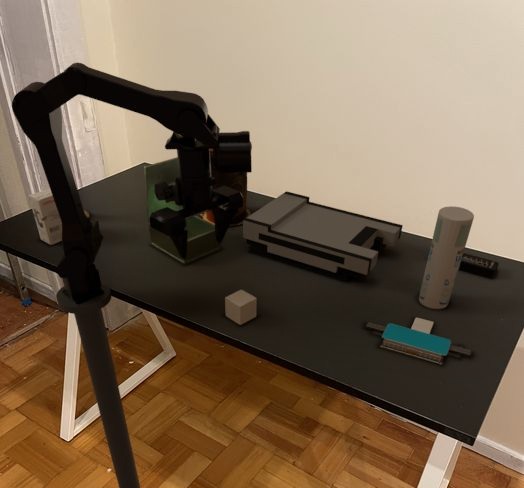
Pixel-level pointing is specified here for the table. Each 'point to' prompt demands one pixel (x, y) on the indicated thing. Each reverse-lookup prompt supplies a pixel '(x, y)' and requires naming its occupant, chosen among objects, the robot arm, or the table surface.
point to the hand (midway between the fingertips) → (201, 250)
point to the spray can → (445, 256)
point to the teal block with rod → (417, 341)
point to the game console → (318, 236)
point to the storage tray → (189, 241)
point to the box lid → (155, 175)
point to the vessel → (232, 181)
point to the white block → (240, 307)
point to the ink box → (46, 216)
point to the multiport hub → (478, 265)
